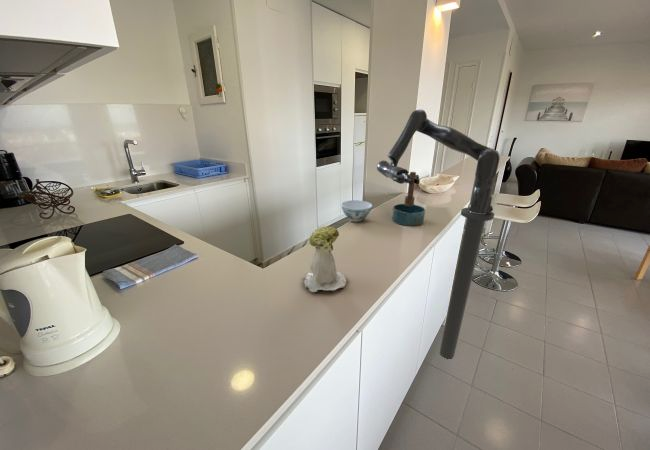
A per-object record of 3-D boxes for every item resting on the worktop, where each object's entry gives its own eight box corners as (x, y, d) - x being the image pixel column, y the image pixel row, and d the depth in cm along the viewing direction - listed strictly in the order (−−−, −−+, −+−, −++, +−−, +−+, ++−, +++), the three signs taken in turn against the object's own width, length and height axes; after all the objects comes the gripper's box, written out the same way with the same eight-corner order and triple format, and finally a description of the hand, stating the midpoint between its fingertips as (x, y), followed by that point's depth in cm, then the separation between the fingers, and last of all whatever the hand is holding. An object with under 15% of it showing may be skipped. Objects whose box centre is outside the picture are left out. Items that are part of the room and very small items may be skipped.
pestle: (413, 204, 136) (417, 171, 130) (413, 206, 132) (418, 173, 126) (404, 203, 137) (408, 171, 131) (404, 206, 133) (408, 172, 127)
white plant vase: (351, 291, 81) (354, 234, 75) (308, 297, 78) (307, 238, 72) (339, 271, 92) (341, 219, 85) (301, 275, 89) (300, 222, 82)
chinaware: (337, 215, 144) (337, 201, 141) (363, 213, 147) (364, 199, 144) (346, 226, 130) (347, 210, 127) (376, 223, 134) (377, 207, 131)
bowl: (422, 217, 142) (424, 205, 140) (424, 227, 128) (426, 214, 126) (392, 214, 146) (393, 202, 143) (391, 224, 132) (392, 211, 130)
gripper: (386, 167, 140) (402, 174, 124) (411, 167, 143) (430, 173, 127) (385, 182, 143) (400, 190, 127) (410, 181, 146) (427, 189, 130)
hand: (415, 182), depth 127 cm, fingers closed on pestle, 2 cm apart
